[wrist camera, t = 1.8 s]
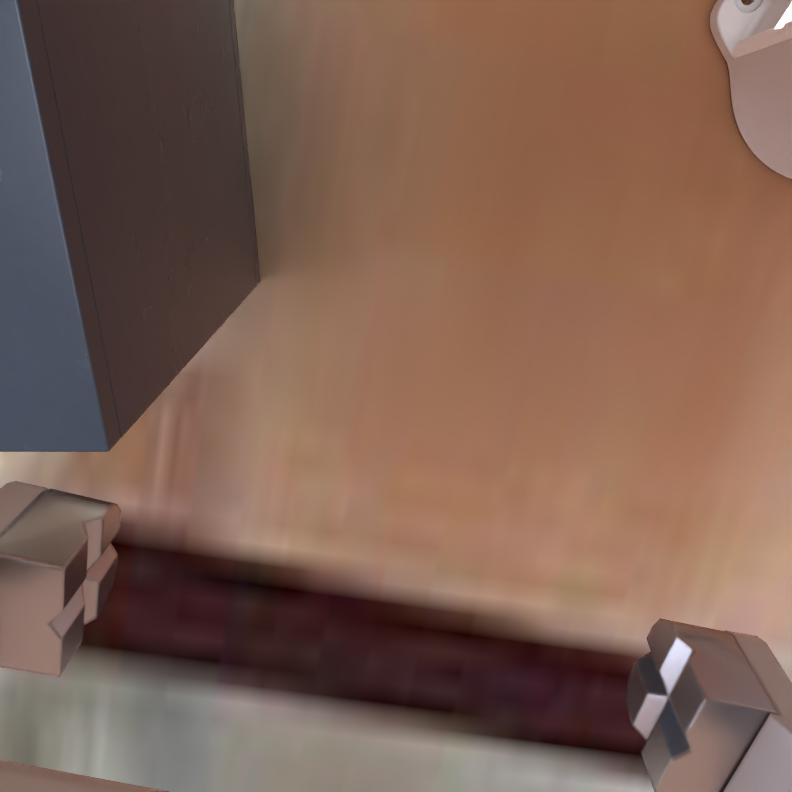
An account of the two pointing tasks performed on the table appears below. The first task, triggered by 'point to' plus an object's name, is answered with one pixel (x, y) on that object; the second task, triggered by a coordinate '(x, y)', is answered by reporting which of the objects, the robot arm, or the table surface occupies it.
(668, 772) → the robot arm
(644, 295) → the table surface
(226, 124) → the cupboard
